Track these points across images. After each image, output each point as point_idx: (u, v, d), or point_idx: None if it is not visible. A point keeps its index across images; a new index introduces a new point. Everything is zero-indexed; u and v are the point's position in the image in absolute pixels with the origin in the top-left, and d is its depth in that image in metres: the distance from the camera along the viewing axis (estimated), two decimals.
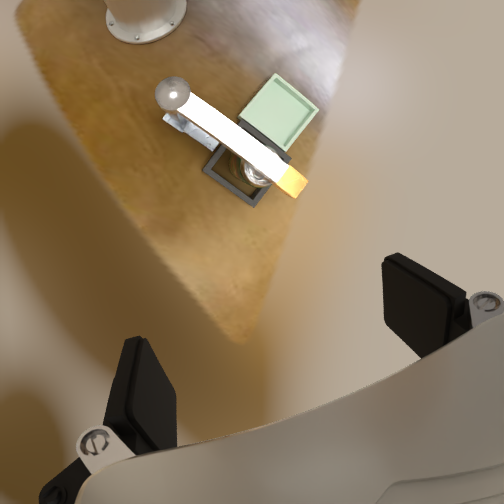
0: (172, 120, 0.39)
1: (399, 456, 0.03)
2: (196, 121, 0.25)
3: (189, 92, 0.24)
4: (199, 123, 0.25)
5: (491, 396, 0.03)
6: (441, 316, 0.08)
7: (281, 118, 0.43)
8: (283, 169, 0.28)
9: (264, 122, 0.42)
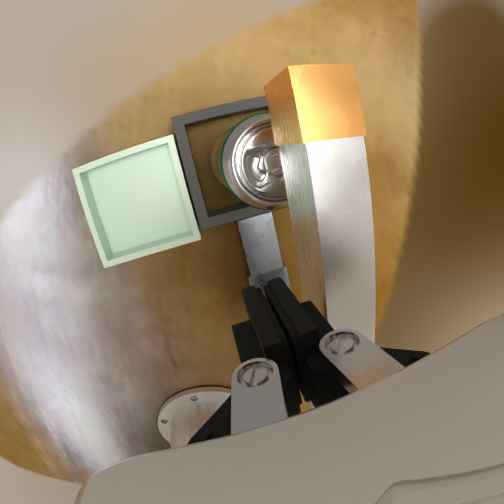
0: None
1: (399, 456, 0.03)
2: None
3: None
4: None
5: (491, 396, 0.03)
6: (294, 350, 0.08)
7: (138, 188, 0.24)
8: (324, 147, 0.09)
9: (167, 198, 0.24)
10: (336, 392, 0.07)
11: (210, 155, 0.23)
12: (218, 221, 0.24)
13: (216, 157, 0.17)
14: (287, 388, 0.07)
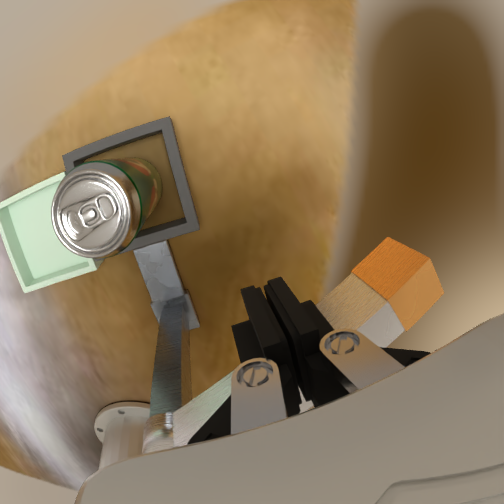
0: (189, 316, 0.27)
1: (399, 456, 0.03)
2: None
3: None
4: None
5: (491, 396, 0.03)
6: (295, 350, 0.08)
7: (47, 220, 0.23)
8: (389, 314, 0.11)
9: None
10: (336, 392, 0.07)
11: None
12: None
13: None
14: (287, 388, 0.07)
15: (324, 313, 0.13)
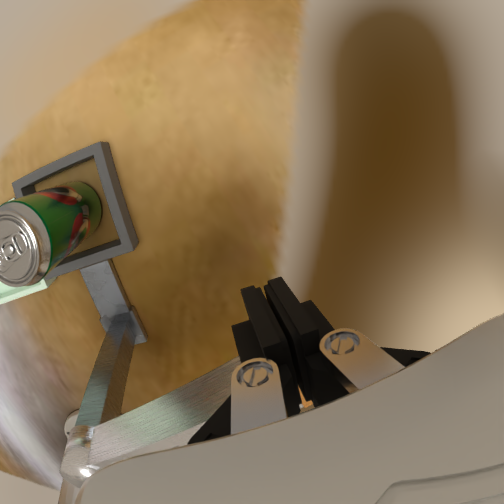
0: (135, 331, 0.27)
1: (399, 456, 0.03)
2: None
3: (86, 469, 0.11)
4: None
5: (491, 396, 0.03)
6: (295, 350, 0.08)
7: None
8: None
9: None
10: (336, 392, 0.07)
11: None
12: (56, 272, 0.22)
13: None
14: (287, 388, 0.07)
15: (229, 374, 0.13)
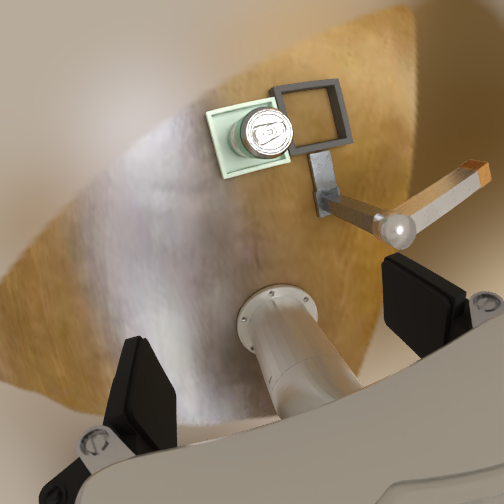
0: None
1: (399, 456, 0.03)
2: (429, 223, 0.26)
3: (410, 218, 0.25)
4: (431, 222, 0.26)
5: (491, 396, 0.03)
6: (441, 316, 0.08)
7: None
8: (477, 175, 0.26)
9: None
10: None
11: (228, 135, 0.34)
12: (301, 151, 0.37)
13: (235, 132, 0.29)
14: None
15: (454, 175, 0.27)
